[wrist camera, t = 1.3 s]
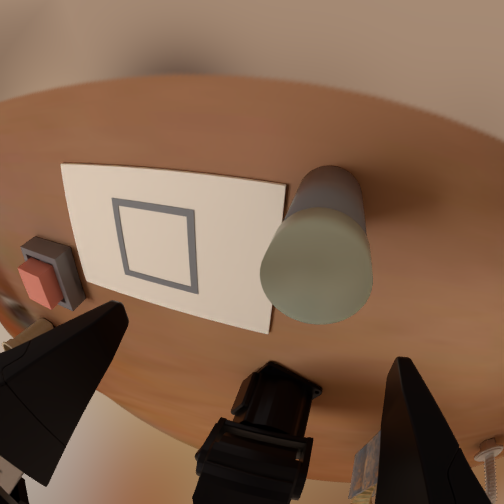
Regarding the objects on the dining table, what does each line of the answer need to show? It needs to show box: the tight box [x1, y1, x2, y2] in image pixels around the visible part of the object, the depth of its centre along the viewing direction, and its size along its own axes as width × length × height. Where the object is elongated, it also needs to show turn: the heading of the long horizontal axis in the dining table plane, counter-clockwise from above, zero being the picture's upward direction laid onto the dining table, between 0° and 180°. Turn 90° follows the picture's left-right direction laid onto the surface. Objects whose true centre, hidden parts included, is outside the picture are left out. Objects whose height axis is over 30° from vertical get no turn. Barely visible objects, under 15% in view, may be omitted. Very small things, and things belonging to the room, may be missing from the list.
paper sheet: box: [61, 163, 286, 334], centre depth 24 cm, size 20×13×1 cm, turn 87°
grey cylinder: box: [260, 166, 373, 324], centre depth 15 cm, size 4×4×9 cm
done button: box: [18, 257, 64, 310], centre depth 28 cm, size 4×4×2 cm
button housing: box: [21, 237, 86, 311], centre depth 30 cm, size 7×7×2 cm
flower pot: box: [2, 318, 54, 351], centre depth 37 cm, size 9×9×9 cm
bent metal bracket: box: [349, 430, 381, 504], centre depth 28 cm, size 11×3×10 cm, turn 174°
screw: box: [474, 438, 503, 504], centre depth 22 cm, size 13×5×5 cm
